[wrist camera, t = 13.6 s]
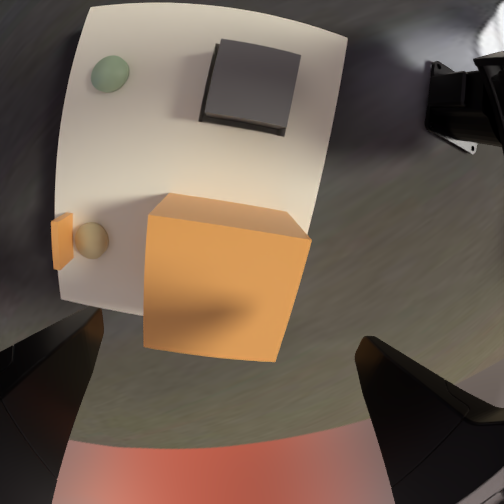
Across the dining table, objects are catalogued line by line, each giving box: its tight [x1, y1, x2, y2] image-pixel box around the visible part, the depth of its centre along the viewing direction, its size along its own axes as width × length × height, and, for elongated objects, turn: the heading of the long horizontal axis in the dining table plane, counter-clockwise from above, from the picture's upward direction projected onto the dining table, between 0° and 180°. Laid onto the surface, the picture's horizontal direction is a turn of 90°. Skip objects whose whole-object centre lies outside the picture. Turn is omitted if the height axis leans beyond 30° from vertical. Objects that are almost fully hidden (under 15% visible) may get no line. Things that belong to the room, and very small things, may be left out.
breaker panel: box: [51, 3, 348, 316], centre depth 16 cm, size 16×20×5 cm
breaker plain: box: [205, 39, 301, 129], centre depth 14 cm, size 4×4×3 cm
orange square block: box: [143, 193, 312, 362], centre depth 15 cm, size 7×7×5 cm
